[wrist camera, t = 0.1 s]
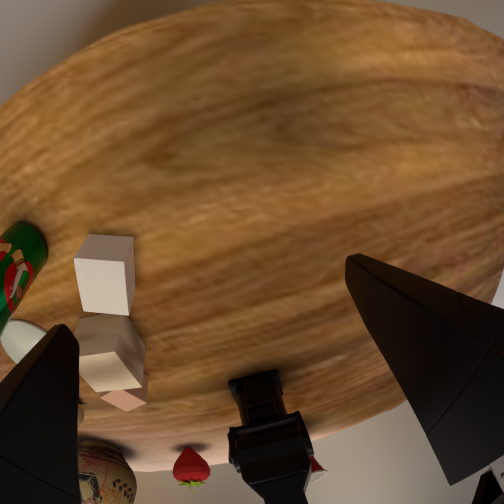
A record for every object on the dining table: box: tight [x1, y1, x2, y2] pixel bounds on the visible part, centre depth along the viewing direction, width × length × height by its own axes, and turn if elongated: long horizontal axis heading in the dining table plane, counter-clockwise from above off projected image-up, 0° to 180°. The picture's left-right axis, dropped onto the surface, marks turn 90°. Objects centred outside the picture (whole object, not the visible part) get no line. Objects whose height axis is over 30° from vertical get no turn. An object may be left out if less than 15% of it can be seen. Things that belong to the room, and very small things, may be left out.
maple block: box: [74, 313, 146, 392], centre depth 24 cm, size 6×6×6 cm
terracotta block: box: [100, 373, 148, 412], centre depth 28 cm, size 4×4×4 cm
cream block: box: [74, 234, 135, 316], centre depth 21 cm, size 5×4×4 cm
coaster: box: [0, 319, 47, 364], centre depth 26 cm, size 11×11×1 cm
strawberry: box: [173, 447, 210, 487], centre depth 39 cm, size 6×8×10 cm
